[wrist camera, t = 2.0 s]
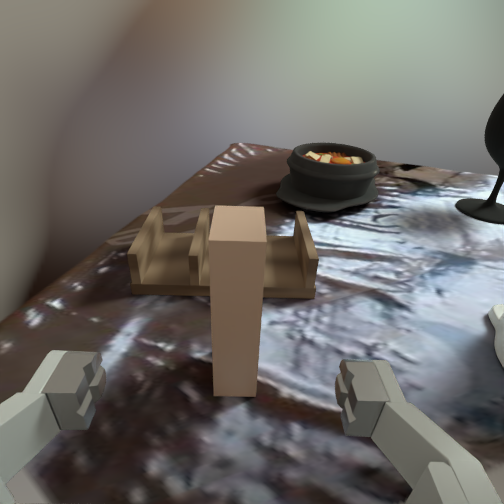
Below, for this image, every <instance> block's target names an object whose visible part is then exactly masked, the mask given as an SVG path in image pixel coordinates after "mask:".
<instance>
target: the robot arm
mask: <svg viewBox="0 0 504 504" xmlns="http://www.w3.org/2000/svg"><path fill="white" fill-rule="evenodd" d="M488 315H489V318H490V320H491V322H492V324H493V326H494V327H495V331H496V334H495V341H494V345H495V350H496V354H497V356H498V359H499V361H500V362H501V364H502V366H503V367H504V304H499V305H494V306H493V307H492V308H491V310H490V311H489V313H488ZM101 362H102V357H101V354H100V353H98V352H80V351H58V350H52V351H51V352H50V353H48V354H47V356H46V357H45V359H44V360H43V362H42V363H41V365H40V366H39V368H38V369H37V371H36V372H35V374H34V376H33V377H32V379H31V380H30V382H29V383H28V385H27V386H26V388H25V389H24V391H23V392H22V393H16V394H15V395H13V396H12V397H10V398H9V399H7V400H6V401H4V402H3V403H1V404H0V504H30V503H14V502H15V500H14V496H13V495H12V493H11V492H10V490H9V489H8V487H7V486H6V483H7V482H8V481H10V480H11V479H12V477H14V476H15V475H16V474H17V473H18V472H19V471H20V470H21V469H22V468H23V467H24V466H25V465H26V464H27V463H28V462H29V461H30V460H31V459H32V458H33V457H34V456H35V455H36V454H38V453H39V452H40V451H41V450H42V449H43V448H44V447H45V446H46V445H47V444H48V443H49V442H50V441H51V440H52V439H53V438H54V437H55V436H56V435H57V434H58V433H59V432H60V430H88V428H89V425H90V423H91V421H92V418H93V416H94V414H95V411H96V409H95V406H94V403H95V402H97V401H98V400H99V399H100V398H101V397H102V394H103V392H104V389H105V384H106V372H105V369H104V368H103V367H102V366H100V364H101ZM339 368H340V371H341V373H340V374H338V375H337V377H336V381H335V394H336V399H337V404H338V405H339V406H340V407H341V408H342V409H343V410H342V413H341V420H342V423H343V427H344V431H345V435H347V436H367V437H371V439H372V440H373V441H374V442H375V444H376V445H377V446H378V447H379V448H380V450H381V451H382V452H383V453H384V455H385V456H386V457H387V458H388V459H389V461H390V462H391V463H392V464H393V466H394V467H395V468H396V469H397V470H398V472H399V473H400V474H401V475H402V477H403V478H404V479H405V480H406V481H407V483H408V484H409V485H410V486H411V488H412V489H413V491H412V492H411V494H410V496H409V497H408V499H407V501H406V502H405V504H503V503H502V501H501V499H500V497H499V495H498V493H497V492H496V490H495V488H494V486H493V484H492V483H491V481H490V479H489V477H488V475H487V474H486V472H485V470H484V468H483V466H482V465H481V463H480V461H478V460H477V459H476V458H475V457H474V456H473V455H471V454H470V453H469V452H468V451H467V450H466V449H464V448H463V447H462V446H461V445H460V444H459V443H457V442H456V441H455V440H454V439H453V438H452V437H450V436H449V435H448V434H447V433H446V432H445V431H443V430H442V429H441V428H440V427H439V426H438V425H436V424H435V423H434V422H433V421H432V420H431V419H429V418H428V417H427V416H426V415H425V414H424V413H422V412H421V411H420V410H419V409H418V408H417V407H415V406H414V405H413V404H412V403H407V402H406V400H405V397H404V395H403V393H402V391H401V389H400V386H399V384H398V382H397V380H396V378H395V375H394V373H393V371H392V369H391V367H390V364H389V363H388V362H387V361H385V360H348V359H343V360H342V361H341V363H340V366H339Z"/></svg>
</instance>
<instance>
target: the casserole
mask: <svg viewBox="0 0 504 504" xmlns="http://www.w3.org/2000/svg"><path fill="white" fill-rule="evenodd" d="M287 164H288V165H289V167H290V174H288V175H286V176H285V177H284V178H283V179H282V180H281V185H280V188H279V190H278V192H277V193H276V195H277V197H278V198H279V199H281V200H282V201H284V202H286V203H288V204H291V205H293V206H296V207H299V208H303V209H307V210H312V211H318V212H335V211H338V210H341V209H344V208H347V207H352V206H357V205H362V204H366V203H369V202H371V201H373V200H375V199H376V198H377V196H378V190H377V188H376V186H375V179H374V176H376V175H377V174H378V173H379V168H378V166H377V163H376V157H375V155H374V154H372V153H371V152H369V151H366V150H364V149H361V148H358V147H353V146H349V145H344V144H336V143H310V144H303V145H300V146H297V147H296V148H294V150H293V152H292V154H291V156H290V157H289V158H288V159H287Z"/></svg>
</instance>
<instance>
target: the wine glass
mask: <svg viewBox="0 0 504 504" xmlns="http://www.w3.org/2000/svg"><path fill="white" fill-rule="evenodd" d="M485 144H486V147H487V150H488V152H489V154H490V156H491V157H492V158H493V160H494V161H495V162H496V163H497V164H498V166H499V168H500V171H499V176H498V178H497V181H496V184H495V186H494V189H493V191H492V193H491V195H490V196H489V198H488V199H487V200H483V199H473V198H468V199H461V200H459V201H458V202H457V203H456V207H457V208H458V209H459V210H460V211H461V212H462V213H464V214H466V215H468V216H470V217H473V218H476V219H479V220H482V221H486V222H491V223H497V224H504V205H502V204H499V203H496V198H497V195H498V193H499V190H500V188H501V186H502V184H503V182H504V94H503V96H502V97H501V98H500V100H499V101H498V103H497V104H496V106H495V107H494V109H493V111H492V113H491V115H490V117H489V119H488V122H487V125H486V129H485Z"/></svg>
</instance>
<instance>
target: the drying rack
mask: <svg viewBox="0 0 504 504" xmlns="http://www.w3.org/2000/svg"><path fill="white" fill-rule="evenodd" d="M209 235H210V227H209V208H201V212H200V216H199V219H198V223H197V226H196V230H195V233H194V234H193V233H164V228H163V220H162V211H161V207H153V209H152V210H151V212H150V214H149V216H148V217H147V219H146V221H145V223H144V224H143V226H142V228H141V230H140V232H139V233H138V235H137V237H136V239H135V240H134V242H133V244H132V246H131V247H130V249H129V251H128V253H127V258H128V263H129V268H130V274H131V279H132V281H131V283H130V286H131V291H132V294H140V295H182V296H210V272H209V243H208V240H209ZM266 239H267V246H266V260H265V274H264V288H263V297H267V298H309V299H314V297H315V292H316V286H315V279H316V273H317V267H318V261H319V258H318V255H317V252H316V249H315V245H314V242H313V239H312V236H311V233H310V230H309V227H308V224H307V220H306V217H305V214H304V211H296V218H295V227H294V235H293V236H266Z"/></svg>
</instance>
